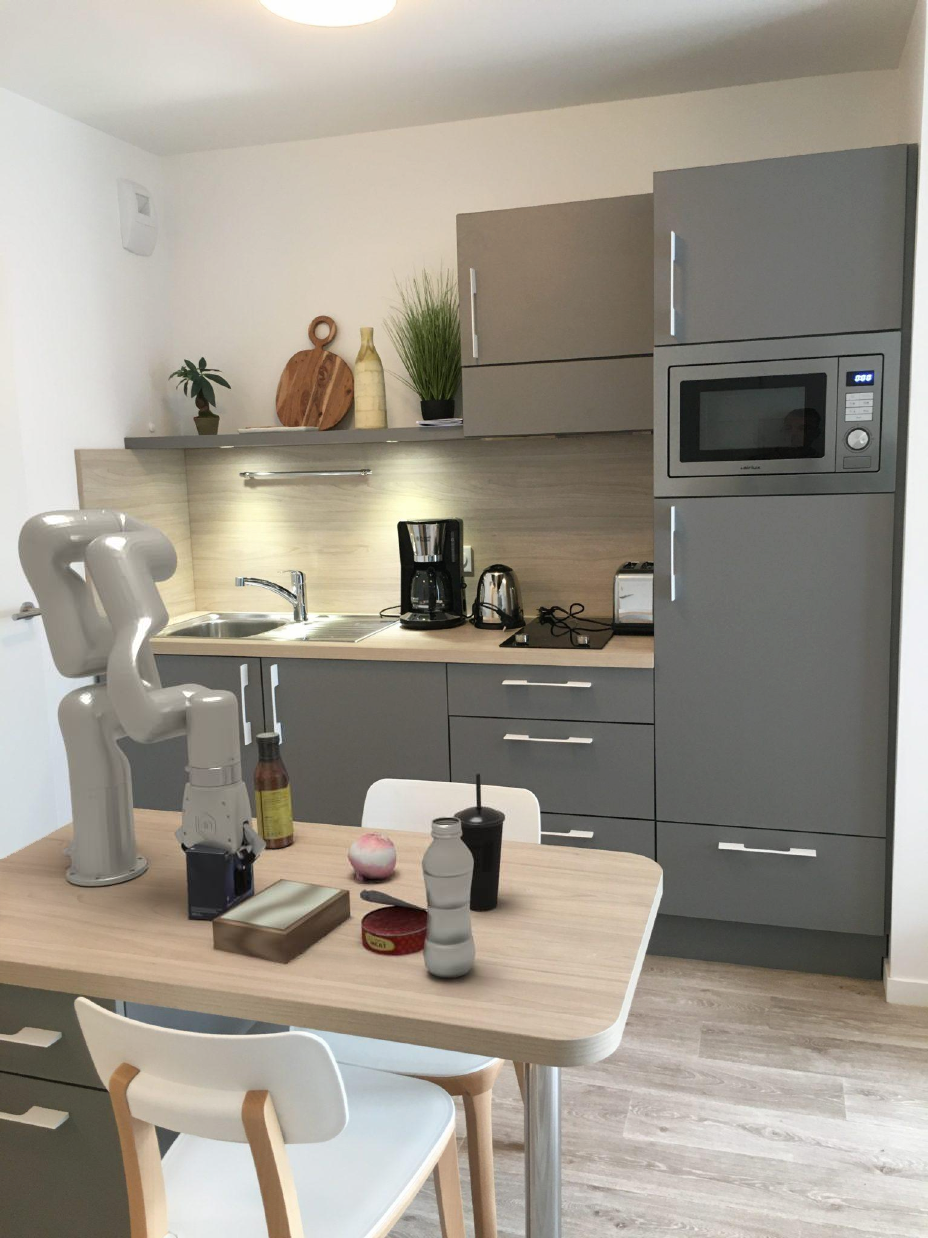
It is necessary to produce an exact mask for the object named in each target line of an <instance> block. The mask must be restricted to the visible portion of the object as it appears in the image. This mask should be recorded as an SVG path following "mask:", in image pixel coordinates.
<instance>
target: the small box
mask: <svg viewBox="0 0 928 1238" xmlns="http://www.w3.org/2000/svg"><path fill="white" fill-rule="evenodd" d="M248 848H249V850H250V851H251V849H252V845H250V846H248ZM239 853H240V855H241V857H242V859H243V858H244V857H243V855H242V853H241V851H239ZM185 865H186V869H185V870H186V884H187V887H186V888H187V918H188V919H195V920H196V919H198V920H208V921H210V920H211V921H212V920H214V919H215V918H217V917H219V916H220V915H222V914H224V913H225V912H227V911H229V910H230V909H232V908H234V907H235V906H237V905H239V904H240V903H242V902H244V901H245V900H247V899H249V898H250V897H252V896H254V895H255V878H254V877H255V876H254V864H252V865H251V878H252V885H251V886H252V887H251V890H249V891H248V892H246V893H244V894H243V895H241V896H236V894H235V881H234V870H236V869H237V867H236V865H235V863H234V858H233V854H232V855H229V854H228V850H225V849H221V848H216V847H211V846H205V845H199V844H194V845H193V846H191V847H190V848H189V849H187V850H186V853H185Z"/></svg>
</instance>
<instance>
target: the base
mask: <svg viewBox="0 0 928 1238" xmlns="http://www.w3.org/2000/svg"><path fill="white" fill-rule="evenodd" d="M350 894H351V893H350V889H349V890H348V889H343V888H338V887H331V886H326V885H321V884H314V883H307V882H304V881H303V882H301V881H295V880H291V879H290V880H289V879H283V878H280V879H279V880H277V881H275V882H274V883H272V884H270V885H269V886H267V887H265V888H264V889H262V890H260V891H259V892H257V893H254V895H253V896H252V897H250V898H249V899H247V900H245V901H244V902H242V903H240V904H239V905H237V906H235V907H234V908H232V909H230V910H229V911H227V912H225V913H224V914H222V915H220V916H219V917H217V918H215V919H214V920H211V921H212V924H211V925H212V937H213V938H212V940H213V949H215V950H220V951H225V952H229V953H234V954H240V955H244V956H249V957H253V958H258V959H263V960H267V961H271V962H273V961H274V962H278V963H282V964H289V963H290V962H291V961H292V960H293V959H295V958H296V957H298V956H299V955H300V954H302V953H303V952H304V951H306V950H307V949H309V948H310V947H312V946H313V945H314V944H315V943H317V942H318V941H319V940H321V939H322V938H323V937H325V936H326V935H328V934H329V933H330V932H332V931H333V930H334V929H336V928H338V927H339V926H340V925H341V924H343V923H344V922H345V921H347V920H348V919H349V918H351V917H352V915H351V897H350Z"/></svg>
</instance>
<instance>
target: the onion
mask: <svg viewBox="0 0 928 1238" xmlns="http://www.w3.org/2000/svg"><path fill="white" fill-rule="evenodd" d="M347 858H348V861H349V863H350V865H351V867H352V869H354V875H355V879H354V880H355V884H367V881H366V880H375V881H372V882H371V881H370V882H368V884H375V883H376V884H377V883H380V882H382V881H381V880H383V879H386V878H388V877H389V876H390V875H391V874H392V873H393V872H394V869H395V868H396V864H397V851H396V848H395V845H394V842H393V841H392V840H391V839H390V838H389V836H387V835H385V834H382V833H379V832H377V831H374V832H373V833H367V834H364V835H361V836H360V837H359V838H357V839H356V840H355V841H354V842H353V843H352V844H351V846H350V847H349V849H348V853H347Z"/></svg>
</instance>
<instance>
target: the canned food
mask: <svg viewBox="0 0 928 1238" xmlns="http://www.w3.org/2000/svg"><path fill="white" fill-rule="evenodd" d="M359 897H360V899H361V900H362V901H364V902H365V901H366V902H369V903H375V904H380V905H386V906H384V907H379V908H377V909H374V910H371V911H369V912H368V913H366V914H365V915H364V916H363V917H362V918H361V921H360V924H361V926H360V927H361V944H362V946H363V947H364V948H365V950H367V951H369V952H371V953H372V954H376V955H380V956H381V955H382V956H391V957H392V956H406V955H410V954H415V953H418V952H420V951H422V950H423V951H424V942H425V937H426V929H427V914H428V912H427V908H424V907H420V906H418V905H415V904H412V903H410V902H407V901H404V900H403V899H400V898H396V897H394V896H392V895H390V894H387V893H385V892H382V891H379V890H374V889H373V890H372V889H371V890H367V889H365V888H364V889H363V890H361V892H360V893H359Z"/></svg>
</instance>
